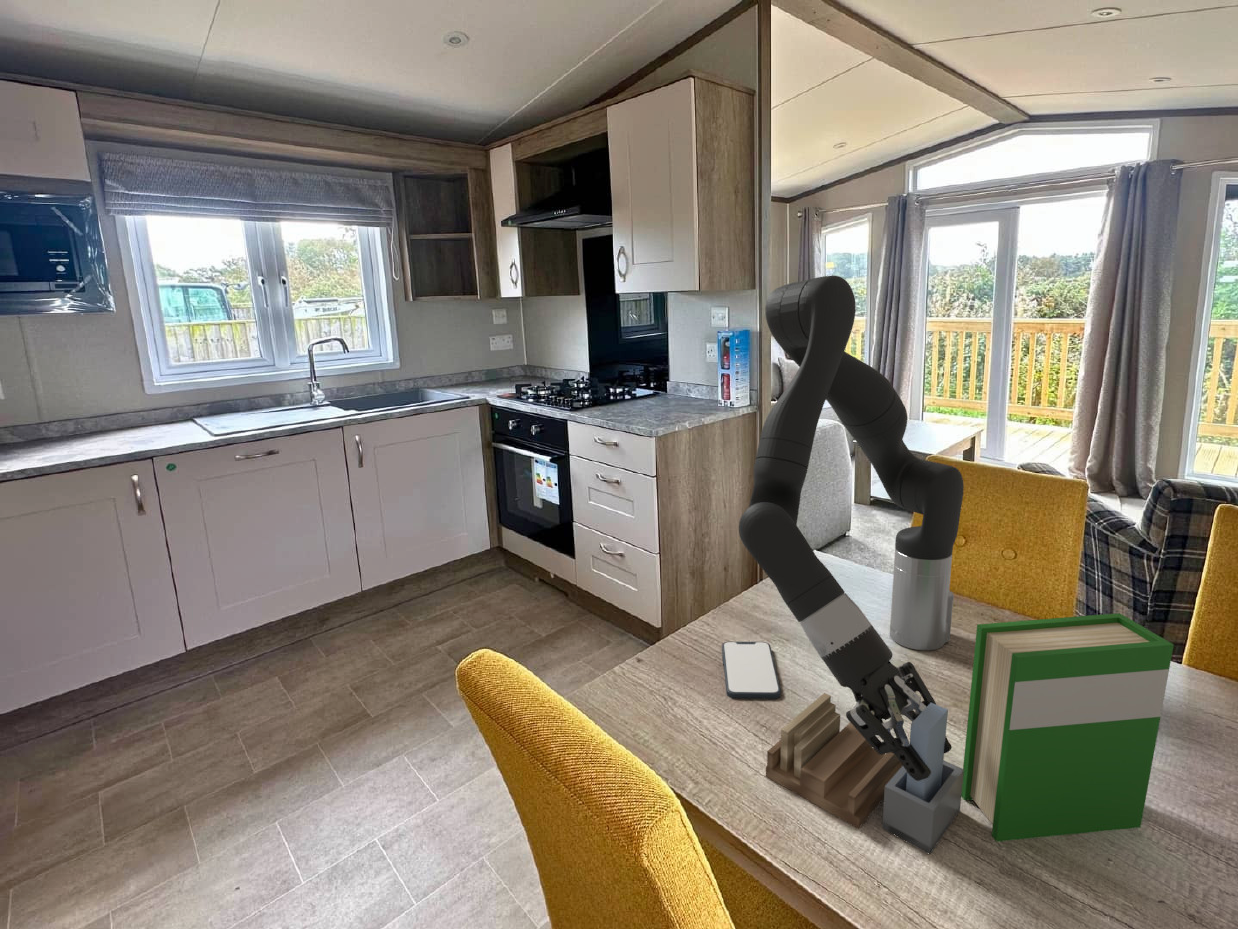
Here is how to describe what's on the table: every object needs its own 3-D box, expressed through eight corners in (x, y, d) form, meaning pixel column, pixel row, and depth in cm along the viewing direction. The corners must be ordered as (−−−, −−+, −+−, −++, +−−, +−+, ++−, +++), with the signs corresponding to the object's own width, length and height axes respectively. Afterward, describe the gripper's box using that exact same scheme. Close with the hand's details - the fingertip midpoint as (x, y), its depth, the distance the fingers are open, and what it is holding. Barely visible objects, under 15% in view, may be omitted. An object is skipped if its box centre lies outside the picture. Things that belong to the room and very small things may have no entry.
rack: (765, 776, 90) (766, 750, 89) (816, 730, 98) (817, 706, 97) (858, 828, 80) (860, 800, 79) (905, 773, 89) (907, 747, 88)
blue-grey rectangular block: (904, 811, 80) (911, 723, 77) (923, 786, 83) (930, 702, 80) (921, 820, 78) (928, 731, 75) (940, 794, 82) (948, 709, 79)
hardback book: (996, 841, 78) (1017, 657, 72) (960, 795, 85) (977, 624, 79) (1140, 827, 79) (1173, 644, 73) (1092, 783, 86) (1119, 613, 80)
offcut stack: (780, 768, 89) (781, 729, 87) (823, 729, 96) (824, 693, 95) (800, 779, 87) (801, 739, 85) (842, 738, 94) (844, 701, 93)
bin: (882, 828, 80) (884, 786, 79) (914, 788, 86) (917, 748, 85) (929, 854, 76) (933, 810, 75) (959, 810, 82) (964, 769, 81)
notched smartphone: (782, 703, 106) (770, 649, 122) (782, 694, 106) (770, 641, 121) (726, 702, 107) (721, 648, 123) (726, 693, 107) (721, 640, 122)
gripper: (835, 649, 77) (935, 789, 71) (892, 606, 86) (983, 726, 81) (794, 673, 82) (884, 805, 76) (851, 629, 91) (935, 744, 86)
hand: (934, 764), depth 79 cm, fingers closed on blue-grey rectangular block, 5 cm apart
